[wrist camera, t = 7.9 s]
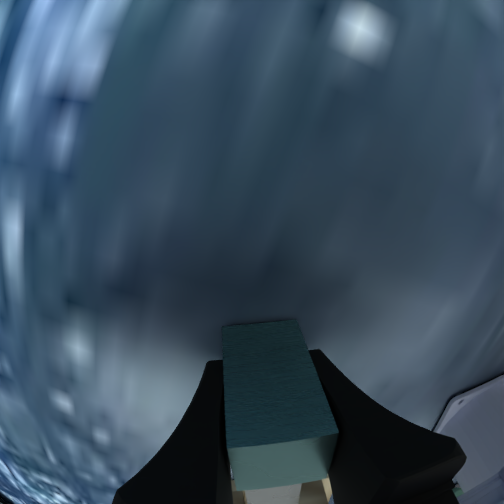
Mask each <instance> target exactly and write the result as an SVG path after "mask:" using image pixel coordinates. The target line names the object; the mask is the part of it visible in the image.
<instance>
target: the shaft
mask: <svg viewBox="0 0 504 504" xmlns="http://www.w3.org/2000/svg"><path fill="white" fill-rule="evenodd" d="M222 343H223V374H224V400H225V422H226V441H227V451H228V456H229V460H230V464H231V468H232V473H233V477H234V481H235V485H236V489H237V491H244V490H245V494H246V499H247V504H298V501H299V496H300V491H301V485H302V483H306V482H311V481H317V480H322V479H326V477H327V474H328V470H329V467H330V464H331V460H332V457H333V453H334V450H335V446H336V443H337V439H338V435H339V431H338V428H337V426H336V423H335V420H334V417H333V415H332V412H331V409H330V407H329V404H328V401H327V399H326V396H325V393H324V391H323V388H322V385H321V383H320V380H319V377H318V375H317V372H316V369H315V367H314V364H313V361H312V359H311V356H310V354H309V351H308V348H307V346H306V343H305V341H304V338H303V335H302V333H301V330H300V328H299V325H298V322H297V320H296V319H294V320H285V321H276V322H267V323H257V324H246V325H235V326H223V327H222Z"/></svg>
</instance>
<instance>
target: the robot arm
mask: <svg viewBox="0 0 504 504" xmlns="http://www.w3.org/2000/svg"><path fill="white" fill-rule="evenodd" d="M308 351H309V354H310V356H311V359H312V361H313V364H314V367H315V369H316V372H317V375H318V377H319V380H320V383H321V385H322V388H323V391H324V393H325V396H326V399H327V401H328V404H329V407H330V409H331V412H332V415H333V417H334V420H335V423H336V426H337V428H338V431H339V435H338V439H337V443H336V446H335V450H334V453H333V457H332V460H331V464H330V467H329V470H328V476H329V480H330V485H331V489H332V494H333V499H334V504H504V374H503V375H501V376H499V377H497V378H495V379H493V380H491V381H489V382H487V383H485V384H483V385H481V386H479V387H476V388H474V389H472V390H470V391H467V392H465V393H463V394H460V395H458V396H456V397H454V398H452V399H451V400H450V402H449V403H448V405H447V407H446V409H445V411H444V413H443V415H442V417H441V419H440V420H439V422H438V424H437V426H436V428H435V429H434V431H430V430H428V429H425V428H423V427H420V426H418V425H416V424H413V423H411V422H409V421H407V420H405V419H403V418H402V417H400V416H398V415H396V414H394V413H392V412H391V411H389V410H387V409H386V408H384V407H383V406H381V405H380V404H378V403H377V402H376V401H374V400H373V399H372V398H370V397H369V396H368V395H366V394H365V393H364V392H363V391H361V390H360V389H359V388H358V387H357V386H356V385H354V384H353V383H352V382H351V381H350V380H349V379H348V378H347V377H346V376H345V375H344V374H343V373H342V372H341V371H340V370H339V369H338V368H337V367H336V366H335V365H334V364H333V363H332V362H331V361H330V360H329V359H328V358H327V357H326V356H325V354H324V353H323V352H322V351H321V350H320V349H315V350H308ZM453 477H455V478H456V480H457V482H458V484H459V486H460V487H461V489H462V491H463V493H464V494H462V495H460V496H458V497H456V496H455V494H454V492H453V490H452V489H454V487H455V484H454V483H453V481H452V479H453ZM112 504H233V495H232V484H231V473H230V460H229V456H228V451H227V441H226V422H225V400H224V374H223V360H212V361H208V362H207V363H206V366H205V370H204V373H203V376H202V378H201V381H200V383H199V386H198V388H197V390H196V393H195V395H194V397H193V399H192V401H191V403H190V405H189V407H188V409H187V410H186V412H185V414H184V416H183V418H182V419H181V421H180V423H179V424H178V426H177V427H176V429H175V430H174V432H173V433H172V435H171V436H170V437H169V439H168V440H167V441H166V442H165V444H164V445H163V446H162V448H161V449H160V450H159V451H158V452H157V454H156V455H155V456H154V457H153V458H152V459H151V460H150V461H149V462H148V463H147V464H146V465H145V466H144V467H143V468H142V469H141V470H140V471H139V472H138V473H137V474H136V475H135V476H133V477H132V478H131V479H130V480H129V481H127V482H126V483H125V484H124V485H123V486H121V487H120V488H119V489H118V490H117V491H116V494H115V496H114V499H113V502H112Z"/></svg>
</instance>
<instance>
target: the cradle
mask: <svg viewBox="0 0 504 504" xmlns="http://www.w3.org/2000/svg"><path fill="white" fill-rule="evenodd" d="M231 484H232V495H233V504H247V499H246V494H245V490H244V491H237V489H236V485H235V481H234V480H231ZM331 494H332V489H331V485H330V480H329V476H328V474H327V477H326V479H322V480H317V481H311V482H306V483H302V485H301V491H300V496H299V501H298V504H328V501H329V499H330V497H331Z"/></svg>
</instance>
